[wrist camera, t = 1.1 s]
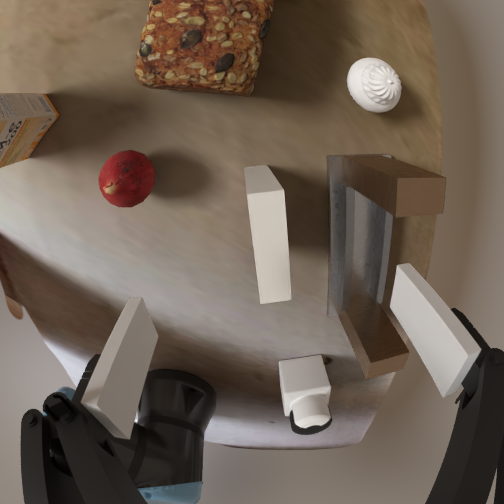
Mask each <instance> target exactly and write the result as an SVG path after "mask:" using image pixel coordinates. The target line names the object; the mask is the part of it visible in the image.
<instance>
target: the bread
mask: <svg viewBox="0 0 504 504" xmlns="http://www.w3.org/2000/svg"><path fill="white" fill-rule="evenodd" d="M273 5H274V0H151V2H150V6H149V12H148V16H147V22H146V26H145V27H144V28H143V31H142V34H141V39H140V45H139V50H138V52H137V54H136V66H135V76H136V78H137V80H138V82H139V83H140V84H141V85H143V86H146V87H149V88H151V89H155V90H156V89H170V90H181V91H196V92H208V93H221V94H230V95H241V96H250V95H251V92H252V91H253V88H254V82H255V80H256V75H257V69H258V66H259V62H260V57H261V53H262V49H263V46H264V40H265V38H266V35H267V33H268V32H269V27H270V20H269V19H270V17H271V13H272V9H273Z"/></svg>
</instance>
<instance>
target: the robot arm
mask: <svg viewBox="0 0 504 504" xmlns="http://www.w3.org/2000/svg"><path fill="white" fill-rule="evenodd" d="M390 308H391V310H392V311H393V313H394V314H395V316H396V317H397V319H398V321H399V322H400V324H401V325H402V327H403V329H404V330H405V332H406V333H407V335H408V337H409V338H410V340H411V342H412V343H413V345H414V347H415V348H416V350H417V352H418V353H419V355H420V357H421V358H422V360H423V362H424V364H425V366H426V367H427V369H428V371H429V373H430V375H431V376H432V378H433V380H434V382H435V384H436V386H437V387H438V389H439V391H440V393H441V395H442V397H443V398H444V397H446V396H448V395H450V394H453V393H455V392H456V391H457V389H458V388H459V386H460V385H461V384H462V386H463V387H464V389H463V391H462V392H461V394H460V395H459V397H458V398H457V399H456V402H455V403H456V404H457V403H458V401H459V400H460V404H459V408H458V412H457V417H456V420H455V424H454V428H453V432H452V435H451V439H450V442H449V445H448V448H447V451H446V454H445V458H444V460H443V463H442V465H441V468H440V471H439V473H438V476H437V478H436V481H435V483H434V486H433V488H432V490H431V492H430V495H429V497H428V499H427V501H426V503H425V504H486V502H487V499H488V496H489V493H490V490H491V486H492V483H493V479H494V476H495V472H496V469H497V479H496V489H495V497H494V504H504V352H503V351H502V350H500V349H498V348H492V349H491V348H490V347H489V346H488V344H487V343H486V342H485V340H484V339H483V338H482V336H481V335H480V334H479V333H478V331H477V330H476V329H475V328H473V325H472V324H471V323H470V322H469V320H468V319H467V318H466V316H465V315H464V314H463V313H462V312H460V311H459V310H457V309H456V308H452V309H450V308H449V307H448V306H447V305H446V304H445V302H444V301H443V300H442V299H441V298H440V297H439V295H438V294H437V293H436V292H435V291H434V290H433V289H432V287H431V286H430V285H429V284H428V283H427V282H426V281H425V280H424V279H423V277H422V276H421V275H420V274H419V273H418V272H417V271H416V270H415V269H414V268H413V267H412V266H411V265H410V263H406V264H400V265H397V269H396V276H395V282H394V287H393V293H392V298H391V303H390ZM157 339H158V334H157V332H156V329H155V327H154V325H153V322H152V320H151V318H150V315H149V313H148V310H147V308H146V305H145V303H144V300H143V298H142V297H134V298H129V300H128V301H127V303H126V305H125V307H124V309H123V311H122V313H121V315H120V317H119V319H118V321H117V323H116V325H115V327H114V329H113V331H112V333H111V335H110V337H109V339H108V341H107V343H106V345H105V348H104V350H103V352H102V354H96V355H95V356H94V357H93V358H92V359H91V360H90V361H89V362H88V364H87V366H86V369H85V372H84V373H83V375H82V379H81V380H80V382H79V384H78V386H77V389H76V390H74V389H72V388H70V387H61V388H60V389H59V390H58V391H57V392H55V393H52V394H51V395H49V396H48V397H47V398H46V400H45V401H44V404H43V413H41V412H40V411H39V410H37V409H31V410H28V411H27V412H26V413H25V414H24V416H23V418H22V422H21V473H22V485H23V494H24V502H25V504H196V503H197V502H198V501H199V500H200V496H201V489H202V484H203V482H202V470H203V447H204V432H205V430H206V428H207V426H208V424H209V422H210V419H211V417H212V415H213V413H214V411H215V407H216V394H215V392H214V390H213V389H212V387H211V386H210V385H208V384H207V383H206V382H205V381H203V380H201V379H200V378H198V377H196V376H193V375H191V374H188V373H184V372H180V371H175V370H153V371H149V372H148V369H149V366H150V362H151V359H152V355H153V352H154V349H155V346H156V343H157ZM136 412H138V422H137V423H135V422H134V420H135V416H136Z"/></svg>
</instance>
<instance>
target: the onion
mask: <svg viewBox="0 0 504 504" xmlns="http://www.w3.org/2000/svg"><path fill="white" fill-rule="evenodd" d="M154 183H155V171H154V168H153V165H152V162H151V161H150V160H149V159H148V158H147V157H146V156H145V155H144V154H142V153H139V152H136V151H133V150H128V151H122V152H119V153H117V154H115V155H113V156H112V157H110V158H109V159H108V160H107V161H106V163H105V164H104V166H103V167H102V169H101V172H100V176H99V186H100V190H101V192H102V194H103V196H104V197H105V198H106V199H107V200H108V201H109V202H110V203H111V204H113V205H115V206H118V207H133V206H135V205H137V204H139V203H141V202H143V201H144V200H145V199H146V198H147V196H148V195H149V194H150V192H151V190H152V188H153V186H154Z"/></svg>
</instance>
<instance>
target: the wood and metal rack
mask: <svg viewBox="0 0 504 504" xmlns="http://www.w3.org/2000/svg"><path fill="white" fill-rule="evenodd" d="M327 174H328V201H329V274H328V301H327V316H328V317H334V316H339V319H340V321H341V323H342V325H343V327H344V330H345V332H346V334H347V336H348V339H349V341H350V343H351V345H352V348H353V350H354V352H355V355H356V357H357V359H358V362H359V364H360V366H361V369H362V371H363V373H364V376H365V378H366V379H370V378H374V377H377V376H381V375H384V374H388V373H391V372H395V371H398V370H401V369H403V368H404V366H405V363H406V361H407V358H408V355H409V350H408V349H407V347H406V345H405V343H404V342H403V340H402V339H401V337H400V335H399V334H398V332H397V331H396V329H395V327H394V326H393V324H392V323H391V321H390V320H389V318H388V317H387V315H386V313H385V312H384V310H383V309H382V307H381V306H380V304H379V303H382V301H383V295H384V289H385V283H386V276H387V269H388V262H389V253H390V244H391V234H392V223H393V216H394V217H407V216H418V215H429V214H440V213H443V210H444V200H445V189H446V177H443V176H441V175H438V174H435V173H433V172H430V171H427V170H425V169H422V168H419V167H416V166H413V165H410V164H407V163H404V162H401V161H398V160H395V159H392V158H391V155H389V154H357V155H330V156H327Z"/></svg>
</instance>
